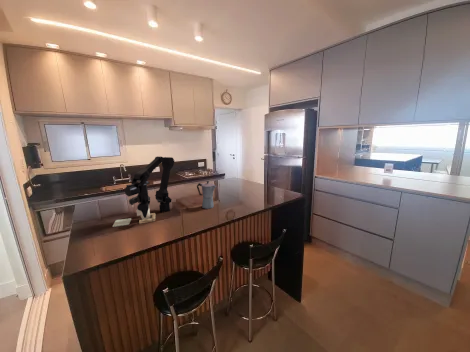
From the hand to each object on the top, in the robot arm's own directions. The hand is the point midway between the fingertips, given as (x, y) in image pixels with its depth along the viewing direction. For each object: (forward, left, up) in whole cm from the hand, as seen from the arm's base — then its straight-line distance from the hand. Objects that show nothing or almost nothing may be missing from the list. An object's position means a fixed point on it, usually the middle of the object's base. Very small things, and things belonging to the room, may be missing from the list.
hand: (145, 214), depth 131 cm
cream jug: (+1, 0, -3) cm, 3 cm away
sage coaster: (+14, 0, -3) cm, 14 cm away
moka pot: (-42, -7, -3) cm, 43 cm away
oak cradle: (0, 0, -3) cm, 3 cm away
